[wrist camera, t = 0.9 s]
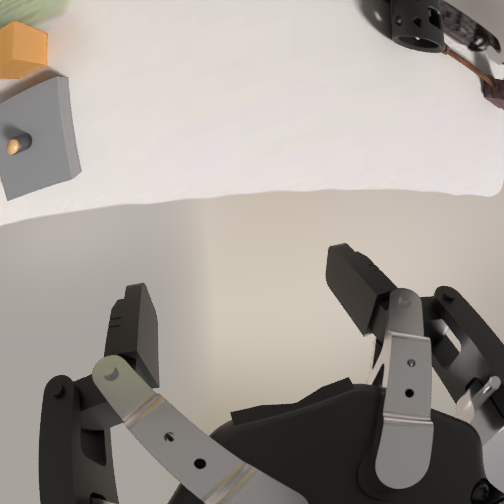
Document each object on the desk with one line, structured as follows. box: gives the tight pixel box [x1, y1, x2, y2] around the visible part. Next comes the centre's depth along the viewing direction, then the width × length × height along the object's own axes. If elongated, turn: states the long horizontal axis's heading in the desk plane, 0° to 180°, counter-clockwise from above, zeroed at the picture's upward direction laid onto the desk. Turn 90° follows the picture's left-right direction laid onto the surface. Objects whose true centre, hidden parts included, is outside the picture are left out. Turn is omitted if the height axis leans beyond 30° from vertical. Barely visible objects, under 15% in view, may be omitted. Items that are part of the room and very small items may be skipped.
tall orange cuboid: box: [0, 20, 47, 79], centre depth 16 cm, size 5×5×10 cm
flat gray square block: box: [0, 76, 82, 201], centre depth 24 cm, size 14×12×8 cm
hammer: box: [442, 42, 504, 110], centre depth 33 cm, size 7×33×10 cm, turn 83°
